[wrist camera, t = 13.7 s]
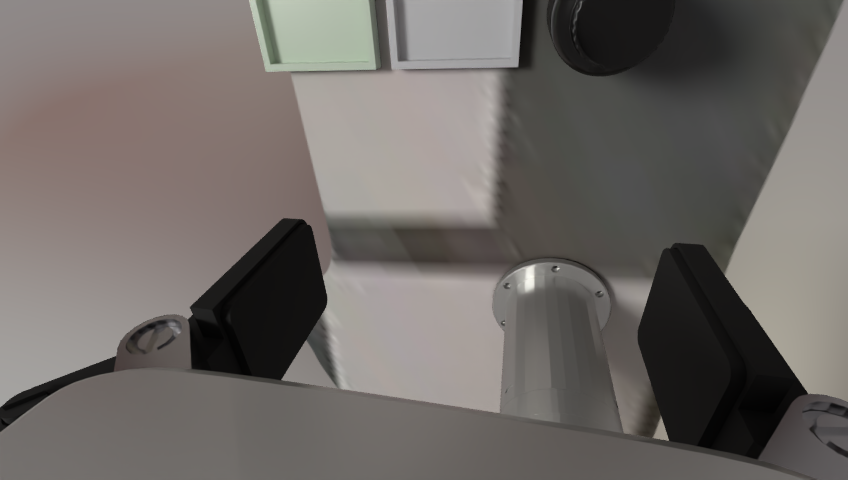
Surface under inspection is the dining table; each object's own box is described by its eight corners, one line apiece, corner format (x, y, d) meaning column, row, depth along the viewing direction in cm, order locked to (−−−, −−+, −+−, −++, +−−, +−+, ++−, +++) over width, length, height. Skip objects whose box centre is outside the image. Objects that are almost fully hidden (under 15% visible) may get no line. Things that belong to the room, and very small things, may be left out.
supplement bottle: (554, -48, 29) (570, -65, 19) (655, -46, 28) (725, -64, 18) (538, 55, 33) (543, 84, 23) (626, 60, 32) (672, 93, 22)
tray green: (381, 66, 36) (376, 69, 35) (274, 68, 38) (265, 71, 37) (366, -84, 31) (359, -87, 29) (242, -72, 33) (231, -74, 31)
